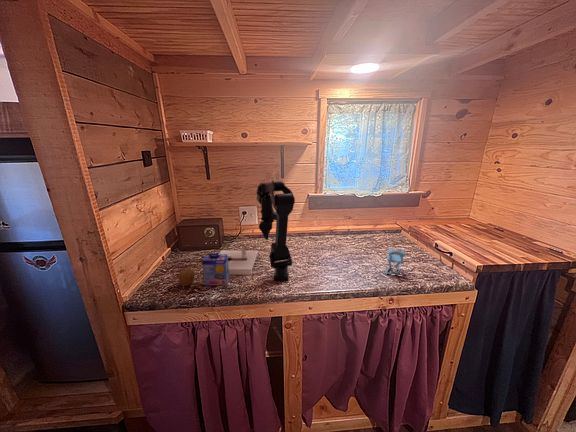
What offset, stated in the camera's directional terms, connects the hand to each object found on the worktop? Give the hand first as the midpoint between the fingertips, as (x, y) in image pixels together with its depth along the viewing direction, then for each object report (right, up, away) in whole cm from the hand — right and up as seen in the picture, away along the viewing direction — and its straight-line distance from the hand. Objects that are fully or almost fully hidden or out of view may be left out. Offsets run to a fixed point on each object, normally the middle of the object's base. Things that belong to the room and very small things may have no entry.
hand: (267, 236), depth 120 cm
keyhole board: (-16, -14, -4) cm, 22 cm away
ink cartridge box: (-20, -19, -19) cm, 34 cm away
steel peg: (-11, -14, -4) cm, 18 cm away
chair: (+61, -16, -11) cm, 64 cm away
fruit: (-33, -19, -22) cm, 44 cm away
